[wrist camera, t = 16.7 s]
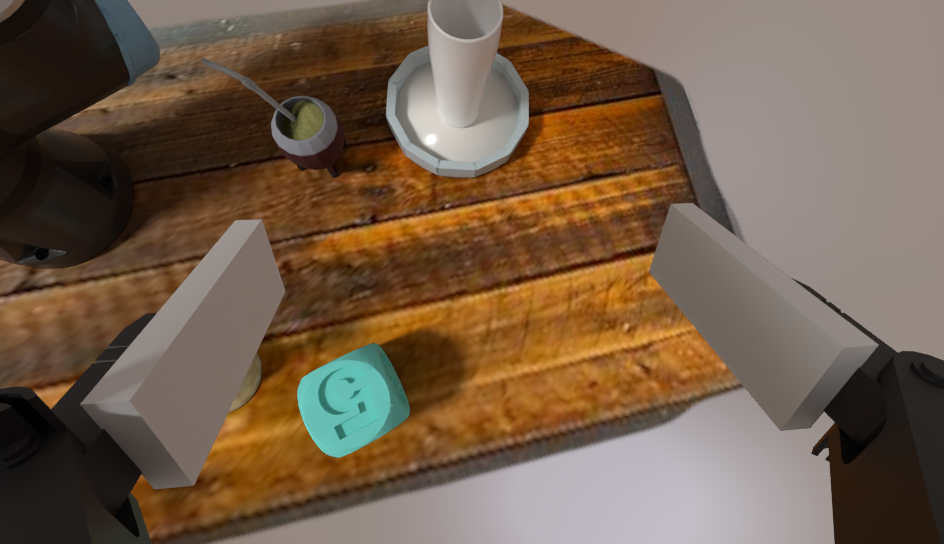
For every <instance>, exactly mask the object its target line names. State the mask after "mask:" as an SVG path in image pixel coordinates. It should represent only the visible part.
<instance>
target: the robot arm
mask: <svg viewBox="0 0 944 544" xmlns="http://www.w3.org/2000/svg"><path fill="white" fill-rule="evenodd" d="M159 60H160V49H159V46H158V44H157V42H156V40H155V39H154V37H153V36H152V34H151V33H150V31H149V30H148V28H147V27H146V25H145V24H144V23H143V21H142V20H141V18H140V17H139V16H138V14H137V13H136V12H135V10H134V9H133V7H132V6H131V5H130V3H129V2H128V1H127V0H0V259H1V260H3V261H6V262H10V263H14V264H18V265H24V266H29V267H34V268H42V269H55V268H63V267H68V266H72V265H75V264H78V263H81V262H84V261H86V260H88V259H90V258H92V257H94V256H95V255H97V254H98V253H100V252H101V251H103V250H104V249H105V248H106V247H108V246H109V245H110V244H111V243H112V242H113V241H114V240H115V239H116V238H117V236H118V235H119V234H120V232H121V231H122V230H123V228H124V226H125V225H126V223H127V221H128V218H129V216H130V213H131V209H132V205H133V185H132V181H131V178H130V175H129V173H128V171H127V169H126V167H125V166H124V164H123V163H122V162H121V160H120V159H119V158H118V157H117V156H116V155H114V154H113V153H112V152H110V151H109V150H107V149H106V148H104V147H102V146H101V145H99V144H97V143H95V142H94V141H92V140H90V139H88V138H86V137H83V136H81V135H78V134H75V133H72V132H68V131H64V130H59V129H55V128H51V127H53V126H55V125H56V124H58V123H60V122H62V121H64V120H66V119H67V118H69V117H71V116H73V115H75V114H77V113H79V112H80V111H82V110H84V109H86V108H88V107H90V106H91V105H93V104H95V103H97V102H99V101H101V100H102V99H104V98H106V97H108V96H110V95H112V94H113V93H115V92H117V91H119V90H121V89H123V88H125V87H126V86H131V85H133V84H134V83H135V81H136V79H137V78H138V77H140V76H141V75H143V74H144V73H146V72H147V71H149V70H150V69H152V68H153V67H155V66H156V65H157V64H158V62H159ZM649 272H650V274H651V275H652V276H653V277H654V278H655V280H656V281H657V282H658V283H659V284H660V286H661V287H662V288H663V289H664V290H665V292H666V293H667V294H668V295H669V297H670V298H671V299H672V300H673V301H674V303H675V304H676V305H677V306H678V307H679V309H680V310H681V311H682V312H683V313H684V315H685V316H686V317H687V318H688V320H689V321H690V322H691V323H692V324H693V326H694V327H695V328H696V329H697V330H698V332H699V333H700V334H701V335H702V336H703V338H704V339H705V340H706V341H707V343H708V344H709V345H710V346H711V347H712V349H713V350H714V351H715V352H716V353H717V355H718V356H719V357H720V358H721V359H722V361H723V362H724V363H725V364H726V366H727V367H728V368H729V369H730V370H731V372H732V373H733V374H734V375H735V376H736V378H737V379H738V380H739V381H740V382H741V384H742V385H743V386H744V387H745V389H746V390H747V391H748V392H749V393H750V394H751V396H752V397H753V398H754V399H755V401H756V402H757V403H758V404H759V405H760V407H761V408H762V409H763V410H764V411H765V413H766V414H767V415H768V416H769V417H770V419H771V420H772V421H773V422H774V424H775V425H776V426H777V427H778V428H779V430H780V431H783V430H794V429H806V428H811V427H812V425H813V424H814V423H815V422H816V420H817V419H818V418H819V417H820V416H821V414H822V413H823V412H824V411H825V413H826V414H827V415H828V416H829V417H830V418H831V419H833V421H834V422H835V423H834V424H833V425H832V427H831V428H830V429H829V430H828V431H827V432H826V434H825V435H824V436H823V437H822V438H821V439H820V440H819V441H818V443H817V444H816V445H815V446H814V447H813V450H812V454H814V455H816V456H818V455H819V453H820V452H821V451H822V450H823V449H824V448H829V456H828V457H827V458H826V460H827V461H829V462H830V474H831V475H830V476H831V492H832V507H833V523H834V539H835V544H944V361H943V360H941V359H938V358H935V357H933V356H930V355H927V354H922V353H918V352H914V351H913V352H912V351H911V352H909V351H902V352H899V353H897V352H896V351H895V350H893V349H892V348H891V347H889V346H888V345H887V344H885V343H884V342H882V341H881V340H880V339H878V338H877V337H876V336H875V335H873V334H872V333H871V332H869V331H868V330H867V329H865V328H864V327H862V326H861V325H860V324H859V323H857V322H856V321H855V320H853V319H852V318H851V317H849V316H848V315H846V314H845V313H841V310H840V309H838V308H837V307H836V306H834V305H833V304H832V303H830V302H827V301H826V299H825V298H824V297H822V296H821V295H820V294H818V293H817V292H816V291H814V290H813V289H812V288H810V287H808V286H807V285H805V284H803V283H801V282H798V281H796V280H794V279H792V278H790V277H789V276H788V275H786V274H785V273H784V272H782V271H781V270H780V269H778V268H777V267H776V266H774V265H773V264H772V263H770V262H769V261H768V260H766V259H765V258H764V257H763V256H761V255H760V254H759V253H757V252H756V251H755V250H753V249H752V248H751V247H749V246H748V245H747V244H746V243H744V242H743V241H742V240H740V239H739V238H738V237H736V236H735V235H734V234H732V233H731V232H730V231H728V230H727V229H726V228H724V227H723V226H722V225H721V224H719V223H718V222H717V221H715V220H714V219H713V218H711V217H710V216H709V215H707V214H706V213H705V212H703V211H702V210H701V209H699V208H698V207H697V206H696V205H694V204H693V203H684V204H671V205H670V208H669V211H668V214H667V217H666V221H665V224H664V227H663V230H662V233H661V236H660V239H659V242H658V246H657V249H656V252H655V255H654V258H653V261H652V264H651V268H650V271H649ZM284 293H285V289H284V286H283V283H282V280H281V277H280V274H279V271H278V268H277V265H276V262H275V259H274V255H273V252H272V249H271V246H270V243H269V240H268V237H267V234H266V231H265V228H264V225H263V222H262V220H236V221H235V222H234V223H233V224H232V225H231V226H230V227H229V229H228V230H227V231H226V232H225V233H224V235H223V236H222V237H221V238H220V239H219V240H218V242H217V243H216V244H215V245H214V246H213V248H212V249H211V250H210V251H209V252H208V254H207V255H206V256H205V257H204V258H203V259H202V261H201V262H200V263H199V264H198V265H197V267H196V268H195V269H194V270H193V271H192V272H191V274H190V275H189V276H188V277H187V278H186V280H185V281H184V282H183V283H182V284H181V285H180V287H179V288H178V289H177V290H176V291H175V293H174V294H173V295H172V296H171V297H170V298H169V300H168V301H167V302H166V303H165V304H164V306H163V307H162V308H161V309H160V310H159V311H158V313H152V314H145V315H144V316H142V317H141V318H139V319H138V320H136V321H135V322H133V323H132V324H131V325H129V326H128V327H126V328H125V329H123V331H122V332H121V333H120V334H119V335H118V336H117V337H116V338H115V339H114V341H113V342H112V343H111V344H110V345H109V349H105V350H104V352H103V353H102V354H101V355H100V356H99V357H98V358H97V359H96V363H95V364H92V365H91V366H90V367H89V368H88V369H87V370H86V371H85V373H84V374H83V375H82V376H81V377H80V378H79V379H78V380H77V381H76V383H75V384H74V385H73V386H72V387H71V388H70V389H69V390H68V391H67V392H66V394H65V395H64V396H63V397H62V398H61V399H60V400H59V401H58V402H57V404H56V405H55V406H54V407H53V408H52V409H50V408H49V407H48V406H47V405H46V404H45V403H44V402H43V401H42V400H41V399H40V398H39V397H38V396H37V395H36V394H35V393H34V391H33V390H32V389H29V388H24V387H11V388H4V389H0V544H151V541H150V538H149V534H148V531H147V528H146V525H145V522H144V519H143V516H142V513H141V510H140V507H139V504H138V501H137V500H136V499H135V497H134V496H133V495H132V494H131V493H130V492H131V490H132V489H133V487H134V485H135V484H136V482H137V480H138V478H139V477H140V475H141V474H142V476H143V477H144V478H145V479H146V480H147V481H148V482H149V483H150V485H151V486H152V487H153V488H154V489H162V488H172V487H183V486H194V484H195V482H196V480H197V478H198V476H199V474H200V471H201V469H202V467H203V465H204V463H205V461H206V459H207V457H208V454H209V452H210V450H211V448H212V446H213V444H214V442H215V440H216V437H217V435H218V433H219V431H220V429H221V427H222V425H223V423H224V420H225V418H226V416H227V414H228V412H229V410H230V408H231V406H232V403H233V401H234V399H235V397H236V395H237V393H238V391H239V389H240V386H241V384H242V382H243V380H244V378H245V376H246V374H247V372H248V369H249V367H250V365H251V363H252V361H253V359H254V357H255V355H256V352H257V350H258V348H259V346H260V344H261V342H262V340H263V338H264V335H265V333H266V331H267V329H268V327H269V325H270V323H271V321H272V318H273V316H274V314H275V312H276V310H277V308H278V306H279V304H280V301H281V299H282V297H283V295H284Z"/></svg>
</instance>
